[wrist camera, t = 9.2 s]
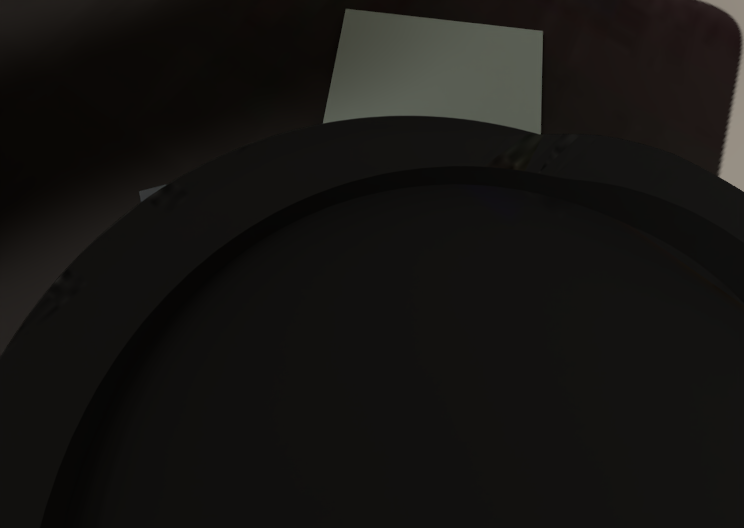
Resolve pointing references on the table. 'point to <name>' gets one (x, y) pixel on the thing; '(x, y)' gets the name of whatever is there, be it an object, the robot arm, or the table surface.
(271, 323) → the coffee cup
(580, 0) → the table surface
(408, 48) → the mat
